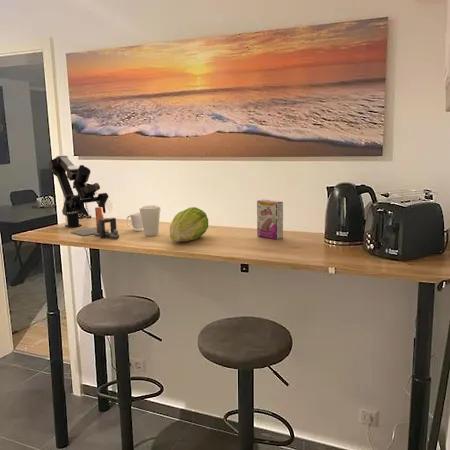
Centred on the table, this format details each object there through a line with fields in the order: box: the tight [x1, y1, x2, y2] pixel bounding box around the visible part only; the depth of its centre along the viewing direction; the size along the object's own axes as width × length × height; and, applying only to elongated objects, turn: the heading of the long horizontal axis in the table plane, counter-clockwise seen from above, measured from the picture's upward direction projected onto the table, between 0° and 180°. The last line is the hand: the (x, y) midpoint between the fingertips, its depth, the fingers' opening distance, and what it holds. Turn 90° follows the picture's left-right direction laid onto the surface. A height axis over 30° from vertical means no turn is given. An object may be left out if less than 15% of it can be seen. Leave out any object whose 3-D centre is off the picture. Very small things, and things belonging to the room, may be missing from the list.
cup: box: [126, 212, 144, 232], centre depth 237 cm, size 7×10×8 cm
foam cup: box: [139, 204, 161, 237], centre depth 226 cm, size 10×9×13 cm
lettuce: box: [169, 206, 209, 242], centre depth 213 cm, size 14×24×15 cm
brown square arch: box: [98, 217, 117, 239], centre depth 223 cm, size 2×8×8 cm, turn 135°
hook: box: [93, 206, 120, 240], centre depth 224 cm, size 17×6×13 cm, turn 45°
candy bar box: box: [256, 198, 284, 241], centre depth 214 cm, size 11×5×16 cm, turn 47°
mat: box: [70, 226, 110, 237], centre depth 236 cm, size 12×14×1 cm
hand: (96, 214), depth 228 cm, fingers open, 9 cm apart
